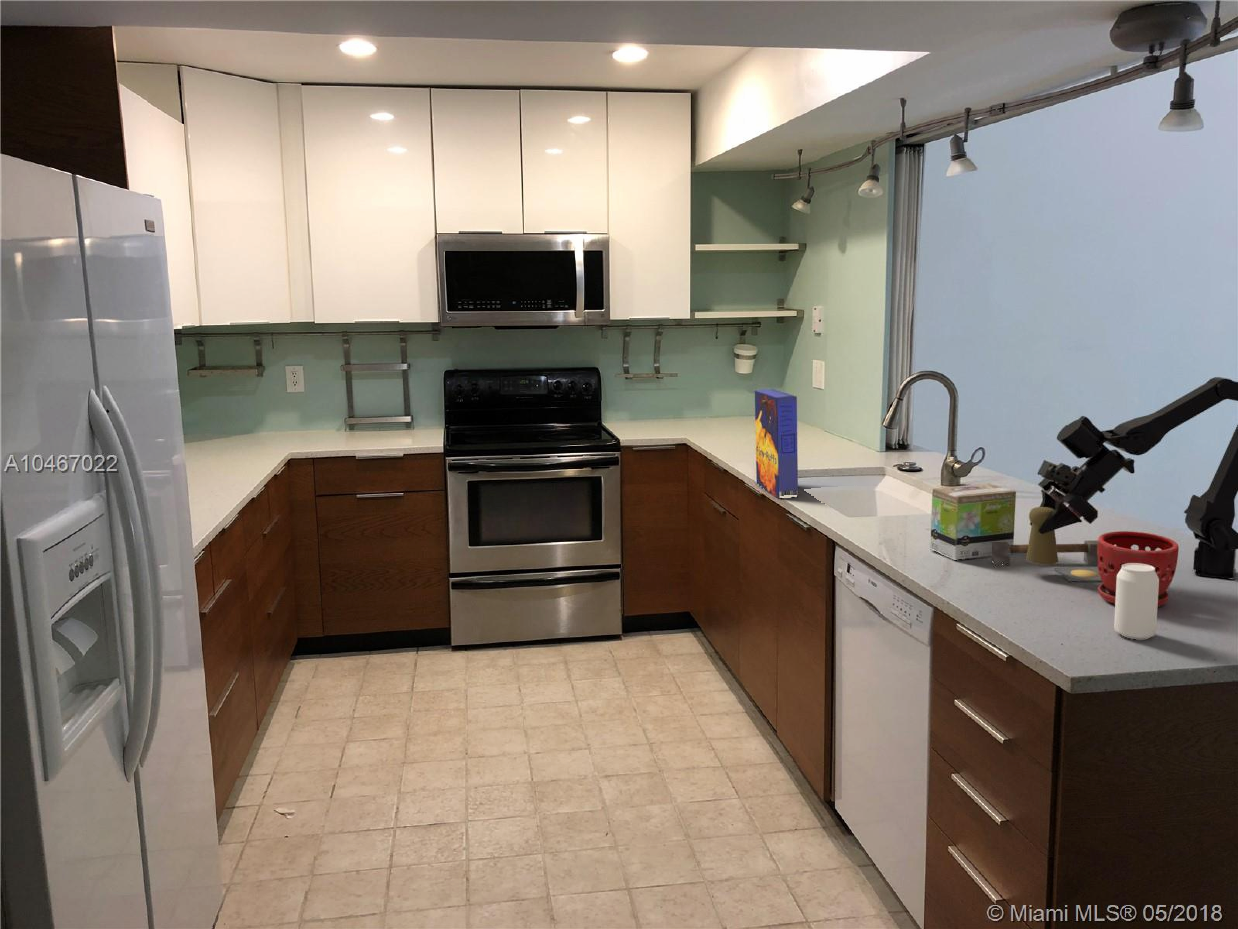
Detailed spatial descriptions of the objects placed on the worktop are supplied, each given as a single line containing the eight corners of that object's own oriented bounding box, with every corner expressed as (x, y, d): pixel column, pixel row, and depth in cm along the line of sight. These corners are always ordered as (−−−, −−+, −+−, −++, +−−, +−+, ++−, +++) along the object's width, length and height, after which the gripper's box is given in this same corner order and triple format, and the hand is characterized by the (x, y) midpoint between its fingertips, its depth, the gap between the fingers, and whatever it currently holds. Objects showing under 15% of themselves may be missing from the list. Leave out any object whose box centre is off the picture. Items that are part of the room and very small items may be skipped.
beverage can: (1111, 638, 158) (1115, 569, 156) (1116, 626, 163) (1119, 560, 161) (1153, 644, 155) (1158, 574, 152) (1157, 632, 160) (1161, 564, 158)
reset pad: (1098, 568, 196) (1098, 566, 195) (1116, 581, 187) (1116, 579, 187) (1053, 569, 197) (1053, 567, 197) (1068, 582, 188) (1068, 580, 188)
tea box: (956, 562, 205) (957, 496, 202) (929, 551, 214) (930, 487, 211) (1015, 554, 208) (1017, 489, 206) (986, 543, 218) (987, 481, 215)
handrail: (1098, 560, 201) (1099, 540, 200) (1103, 564, 198) (1104, 544, 197) (991, 561, 204) (992, 542, 203) (995, 565, 201) (995, 545, 200)
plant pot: (1084, 603, 175) (1087, 541, 173) (1109, 586, 184) (1112, 527, 182) (1162, 618, 166) (1165, 553, 164) (1184, 599, 175) (1188, 537, 173)
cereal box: (756, 485, 295) (754, 389, 289) (774, 483, 296) (773, 388, 290) (778, 499, 273) (776, 396, 268) (798, 497, 274) (796, 395, 269)
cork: (1039, 566, 188) (1040, 512, 186) (1019, 558, 194) (1020, 506, 192) (1065, 562, 190) (1066, 509, 188) (1044, 554, 196) (1045, 503, 194)
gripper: (1049, 439, 197) (994, 493, 200) (1082, 455, 178) (1020, 513, 182) (1088, 475, 197) (1032, 527, 200) (1124, 494, 179) (1062, 551, 182)
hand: (1035, 529), depth 191 cm, fingers closed on cork, 5 cm apart
